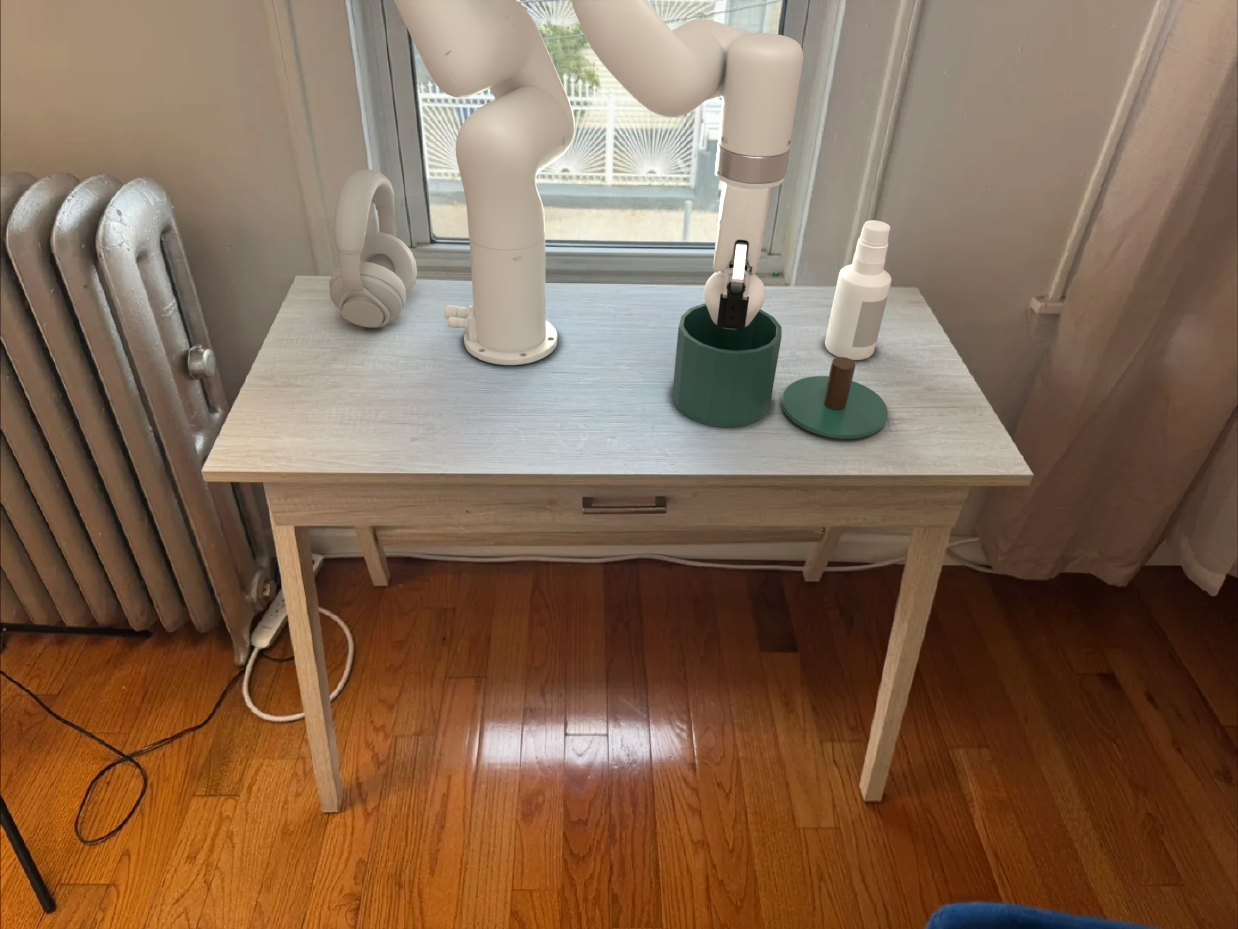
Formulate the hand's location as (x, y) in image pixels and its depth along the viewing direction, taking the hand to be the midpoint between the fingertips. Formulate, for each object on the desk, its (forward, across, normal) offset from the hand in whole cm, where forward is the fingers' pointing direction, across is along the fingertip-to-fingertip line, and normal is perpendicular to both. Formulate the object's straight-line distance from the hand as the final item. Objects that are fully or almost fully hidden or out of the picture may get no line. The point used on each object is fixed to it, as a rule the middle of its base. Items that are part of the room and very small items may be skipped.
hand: (732, 310), depth 109 cm
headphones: (+13, -12, -49) cm, 52 cm away
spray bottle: (+13, -16, +17) cm, 27 cm away
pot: (+13, 0, 0) cm, 13 cm away
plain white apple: (+2, 0, 0) cm, 2 cm away
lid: (+12, 0, +14) cm, 19 cm away
